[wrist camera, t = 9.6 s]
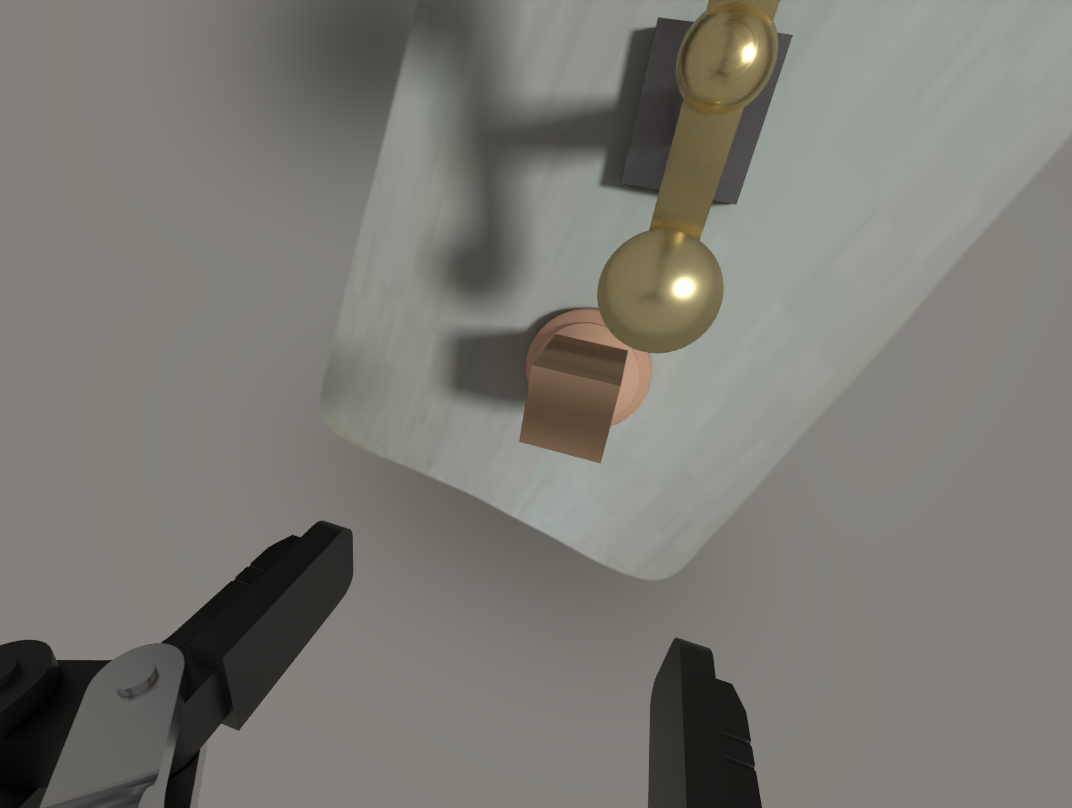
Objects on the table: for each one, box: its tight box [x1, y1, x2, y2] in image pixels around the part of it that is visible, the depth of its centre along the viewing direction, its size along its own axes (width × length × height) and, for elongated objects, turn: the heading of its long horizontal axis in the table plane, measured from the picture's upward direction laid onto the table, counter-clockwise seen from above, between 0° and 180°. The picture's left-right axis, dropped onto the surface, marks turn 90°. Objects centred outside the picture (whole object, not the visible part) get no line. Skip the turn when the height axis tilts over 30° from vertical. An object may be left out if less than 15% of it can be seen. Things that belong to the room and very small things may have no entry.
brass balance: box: [597, 0, 793, 353], centre depth 16 cm, size 19×6×15 cm, turn 170°
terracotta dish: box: [526, 308, 651, 426], centre depth 29 cm, size 8×8×1 cm
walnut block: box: [519, 334, 628, 463], centre depth 26 cm, size 4×4×6 cm
